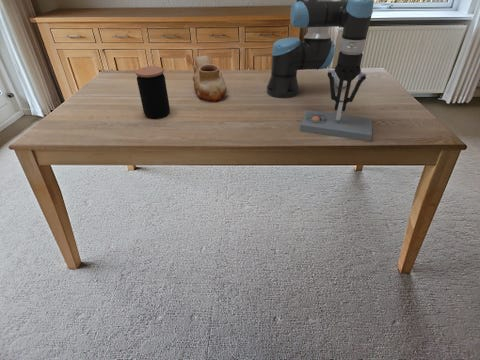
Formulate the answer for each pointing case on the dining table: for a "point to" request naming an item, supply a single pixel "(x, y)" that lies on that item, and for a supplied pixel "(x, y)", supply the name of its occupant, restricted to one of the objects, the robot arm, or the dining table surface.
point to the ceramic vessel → (208, 80)
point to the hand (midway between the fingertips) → (338, 118)
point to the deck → (337, 125)
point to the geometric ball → (336, 80)
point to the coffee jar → (153, 91)
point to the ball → (315, 118)
